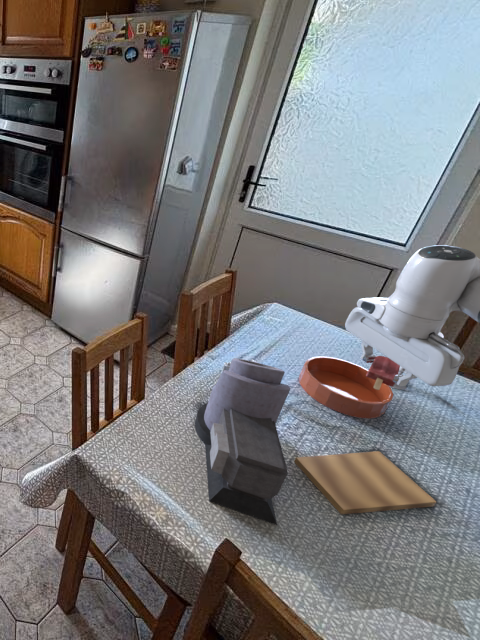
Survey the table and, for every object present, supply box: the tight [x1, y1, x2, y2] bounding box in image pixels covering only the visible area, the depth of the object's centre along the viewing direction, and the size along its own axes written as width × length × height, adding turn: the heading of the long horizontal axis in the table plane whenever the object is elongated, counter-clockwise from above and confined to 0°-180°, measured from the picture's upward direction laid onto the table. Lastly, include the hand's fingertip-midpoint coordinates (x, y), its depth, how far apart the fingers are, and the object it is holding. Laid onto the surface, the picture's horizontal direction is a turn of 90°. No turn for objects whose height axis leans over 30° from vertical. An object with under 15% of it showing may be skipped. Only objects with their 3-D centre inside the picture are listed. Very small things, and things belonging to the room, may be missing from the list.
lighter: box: [220, 359, 257, 374], centre depth 115 cm, size 7×2×8 cm, turn 58°
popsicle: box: [366, 355, 401, 390], centre depth 91 cm, size 4×2×15 cm
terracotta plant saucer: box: [298, 355, 395, 420], centre depth 110 cm, size 18×18×5 cm
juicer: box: [194, 357, 291, 526], centre depth 89 cm, size 30×16×24 cm, turn 155°
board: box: [293, 450, 437, 515], centre depth 88 cm, size 20×12×2 cm, turn 94°
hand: (381, 371), depth 91 cm, fingers closed on popsicle, 6 cm apart
